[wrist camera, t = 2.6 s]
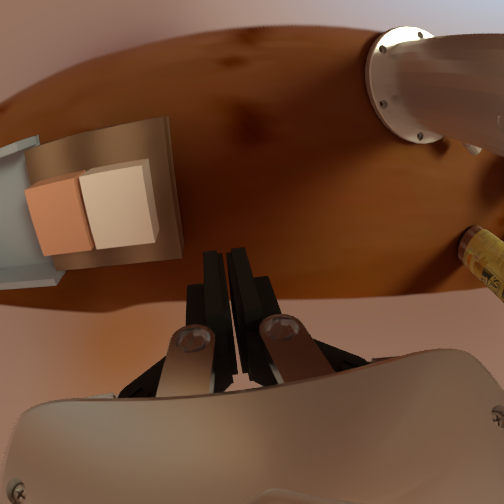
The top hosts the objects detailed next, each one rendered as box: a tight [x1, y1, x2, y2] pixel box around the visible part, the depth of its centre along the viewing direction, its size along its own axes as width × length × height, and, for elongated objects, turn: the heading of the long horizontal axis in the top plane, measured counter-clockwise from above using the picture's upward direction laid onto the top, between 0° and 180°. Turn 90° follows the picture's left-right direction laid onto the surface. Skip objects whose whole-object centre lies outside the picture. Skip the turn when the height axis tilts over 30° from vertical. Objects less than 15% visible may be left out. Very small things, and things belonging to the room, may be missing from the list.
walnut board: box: [24, 116, 184, 271], centre depth 23 cm, size 13×12×3 cm
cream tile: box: [79, 159, 159, 249], centre depth 21 cm, size 5×6×2 cm
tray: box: [0, 135, 66, 290], centre depth 22 cm, size 12×14×4 cm
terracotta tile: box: [24, 170, 95, 256], centre depth 21 cm, size 5×6×2 cm
